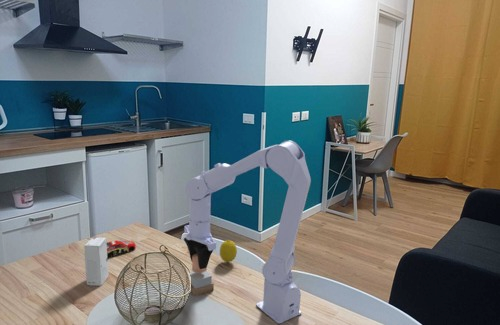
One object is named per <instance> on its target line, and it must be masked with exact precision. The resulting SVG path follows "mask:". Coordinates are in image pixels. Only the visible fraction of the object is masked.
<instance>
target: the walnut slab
mask: <svg viewBox="0 0 500 325" xmlns="http://www.w3.org/2000/svg"><path fill="white" fill-rule="evenodd" d="M214 284H215V283H214V282H212V283H211V284H210V285H207V286H203V287H200V288H197V289H195V288H194V287H193V286H192V285H191V292H190V293H191V295H192V296H194V297H198V296H201V295H203V294H206V293H209V292H213V291H214V286H215V285H214Z"/></svg>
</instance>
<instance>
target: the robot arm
mask: <svg viewBox="0 0 500 325" xmlns="http://www.w3.org/2000/svg"><path fill="white" fill-rule="evenodd" d="M257 167H261V168H263V169H268V168H270V169H271V170H272V171H273V172H274V173H276V174H277V175H278V176H280V177H281V178H283V180H284V182H285V184H287V187H288V188H287V192H286V196H285V200H284V204H283V208H282V211H281V212H282V213H281V216H280V220H279V224H278V228H277V231H276V232H277V233H276V235H275V236H276V237H275V240H274V244H273V247H272V249H271V251H270V253H269V257H268V259H267V261H266V262H265V263H264V264H263V266H262V270H261V271H262V275H263V278H264V279H263V280H264V283H263V300H261V301H259V302H256V305H255V306H256V307H258V308H259V309H260V310H261V311H262V312H263V313H265V314H266V315H267V316H268V317H270V318H271V319H272V320H273V321H274V322H276V323H277V324H282V323H284V322H286V321H288V320H290V319H292V318H296V317H297V316H299V315H301V314H302V311H301V310H300V306H301V304H300V303H301V294H302V292H301V289H299V287H298V286H297V285H296V284H295V282H294V280H293V279H294V278H293V273H292V271H291V269H292V268H293V267H294V265H295V262H296V256H295V248H296V246H295V243H296V239H297V235H298V233H299V232H298V231H299V227H300V223H301V220H302V217H303V212H304V209H305V206H306V203H307V202H306V201H307V197H308V193H309V190H310V187H311V182H312V179H311V176H310V175H311V174H310V172H309V169H308V168H309V167H308V165H307V162H306V156H305V152H304V151H303V149H302V148H301V147H300V145H299V144H297V142H295V141H293V140H284V141H282V142H281V143H280V144H274V145H273V144H272V145H270V146H268V147H265V148H261V149H259V150H257V151H255V152H253V153H251V154H249V155H248V156H246V157H244V158H242V159H240V160H239V161H237V162H236V161H235V162H234V163H233V164H229V163H226V162H225V163H224V162H223V163H220V162H218V163H216V164H214V166H213V168H211V169H209V170H207V171H205V170H203V171H202V172H200V175H197V176H195V177H191V179H189V180H188V181H187V183H186V184H185V193H186V195H187V196H188V197H189V201H188V202H189V205H188V206H189V208H188V209H189V211H188V212H189V213H188V216H189V218H188V221H189V222H188V224H186V225H184V228H183V229H184V231H183V232H184V233H185V234H187V235H185V237H184V238H183V240H184V243H185V244H186V246H187V250H188V253H189V256H190V262H192V256H193V255H194V254H197V256H198V264H199V268H200V269H204V268H208V264H209V262H210V258H211V256H212V253H213V251H215V250H217V242H216V241H215V240H214V238H213V236H212V233H211V206H212V205H211V204H212V203H211V199H212V198H211V197H212V194H213V193H215V192H217V191H219V190H221V189H224V188H226V187H227V186H231V185H232V184H234V182H235V180H236V177H237V176H240V175H242V174H244V173H247V172H248V171H250V170H253V169H255V168H257Z"/></svg>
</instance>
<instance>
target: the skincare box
mask: <svg viewBox="0 0 500 325" xmlns="http://www.w3.org/2000/svg"><path fill="white" fill-rule="evenodd" d="M106 243H107V237H92V238H90V239H89V240H88V241H87V242H86V244H84V246H83V249H84V250H83V251H84V261H85V262H84V264H85V277H86V285H87V286H92V287H93V286H98V287H99V286H102V285H104V283H105V281H106V280H107V279H108V277H109V264H108V263H109V262H108V261H109V260H108V259H109V258H107V244H106Z"/></svg>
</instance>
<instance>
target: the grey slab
mask: <svg viewBox="0 0 500 325" xmlns="http://www.w3.org/2000/svg"><path fill="white" fill-rule="evenodd" d="M189 272H190V276H191V285H192V286H193V287H194V288H195V289H197V288H200V287H203V286H207V285H210V284H211V283H213V282H212V281H213V280H212V279H213V278H212V277H213V276H212V274H210V272H209V271H207V270H206V271H205V272H203V273H195V272H193V271H192V270H191V271H189Z"/></svg>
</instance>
